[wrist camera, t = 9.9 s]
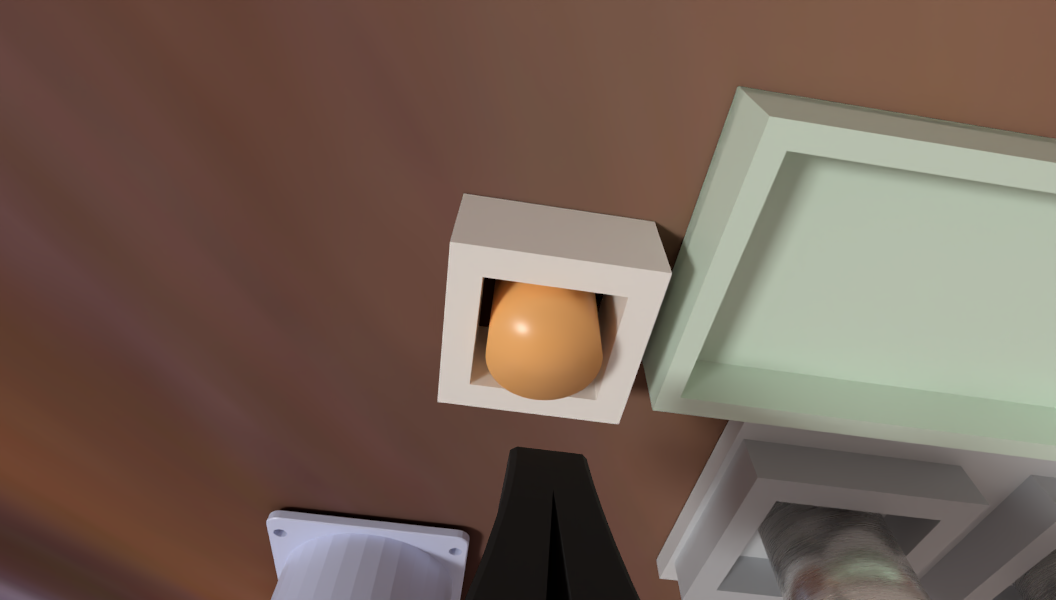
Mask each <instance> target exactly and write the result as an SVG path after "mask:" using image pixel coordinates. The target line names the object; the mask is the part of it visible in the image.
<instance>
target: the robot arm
mask: <svg viewBox="0 0 1056 600" xmlns="http://www.w3.org/2000/svg"><path fill="white" fill-rule="evenodd" d="M266 524H267V529H268V534H269V538H270V543H271V548H272V553H273V557H274V562H275V567H276V572H277V577H278V583H277V585H276V588H275V590H274V593H273V596H272V598H271V600H460V597H461V591H462V585H463V578H464V572H465V566H466V559H467V553H468V546H469V539H470V538H469V535H468V534H467V533H466V532H464V531H462V530H457V529H448V528H439V527H430V526H421V525H412V524H403V523H394V522H384V521H375V520H366V519H357V518H348V517H339V516H330V515H321V514H312V513H302V512H293V511H284V510H276V511H273V512H271V513H270V515H269V517H268V519H267V522H266ZM465 600H640V599H639V596H638V594H637V592H636V590H635V588H634V585H633V583H632V581H631V579H630V576H629V574H628V572H627V569H626V567H625V565H624V562H623V560H622V558H621V555H620V553H619V551H618V548H617V546H616V543H615V541H614V538H613V536H612V533H611V531H610V528H609V526H608V523H607V520H606V517H605V515H604V512H603V509H602V507H601V504H600V501H599V498H598V495H597V492H596V489H595V486H594V483H593V480H592V477H591V473H590V470H589V466H588V463H587V459H586V458H585V457H584V456H583V455H582V454H575V453H566V452H558V451H549V450H541V449H532V448H524V447H515V448H513V449H511V450H510V453H509V458H508V463H507V468H506V473H505V478H504V483H503V488H502V494H501V499H500V504H499V509H498V514H497V517H496V520H495V523H494V526H493V528H492V531H491V534H490V537H489V540H488V543H487V546H486V549H485V551H484V554H483V557H482V559H481V562H480V565H479V567H478V569H477V572H476V574H475V577H474V579H473V581H472V584H471V586H470V588H469V591H468V593H467V596H466V598H465Z"/></svg>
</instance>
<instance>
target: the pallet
mask: <svg viewBox="0 0 1056 600" xmlns="http://www.w3.org/2000/svg"><path fill="white" fill-rule="evenodd" d="M776 501H779V502H787V503H796V504H804V505H813V506H821V507H830V508H838V509H847V510H855V511H864V512H873V513H881V515H882V516H883V518H884V520H885V522H886V523H887V525H888V527H889V528H890V530H891V532H892V534H893V535H894V537H895V539H896V541H897V542H898V544H899V546H900V547H901V549H902V551H903V553H904V554H905V556H906V558H907V560H908V561H909V563H910V565H911V566H912V568H913V570H914V572H915V573H916V575H917V577H918V579H919V580H920V582H921V584H922V585H923V587H924V589H925V591H926V592H927V594H928V596H929V598H930V599H931V600H1023V599H1022V597H1021V596H1020V594H1019V593H1018V592H1017V590H1016V589H1015V587H1014V586H1013V584H1012V583H1013V582H1015V581H1016V580H1017V579H1018V578H1020V577H1021V576H1022V575H1023V574H1025V573H1026V572H1027V571H1028V570H1030V569H1031V568H1032V567H1033V566H1035V565H1036V564H1037V563H1038V562H1040V561H1041V560H1042V559H1043V558H1045V557H1046V556H1047V555H1048V554H1050V553H1051V552H1052V551H1053V550H1055V549H1056V461H1050V460H1042V459H1034V458H1026V457H1019V456H1011V455H1003V454H995V453H987V452H979V451H971V450H963V449H955V448H947V447H939V446H932V445H924V444H916V443H908V442H900V441H892V440H884V439H876V438H868V437H860V436H852V435H844V434H837V433H829V432H821V431H813V430H805V429H797V428H789V427H781V426H773V425H765V424H757V423H750V422H742V421H734V420H729V421H728V423H727V425H726V427H725V429H724V431H723V433H722V435H721V437H720V439H719V440H718V442H717V444H716V446H715V448H714V450H713V452H712V454H711V456H710V458H709V460H708V462H707V464H706V466H705V467H704V469H703V471H702V473H701V475H700V477H699V479H698V481H697V483H696V485H695V487H694V489H693V491H692V492H691V494H690V496H689V498H688V500H687V502H686V504H685V506H684V508H683V510H682V512H681V514H680V516H679V518H678V519H677V521H676V523H675V525H674V527H673V529H672V531H671V533H670V535H669V537H668V539H667V541H666V543H665V544H664V546H663V548H662V550H661V552H660V554H659V556H658V558H657V566H658V572H659V578H660V579H670V580H678V584H679V589H680V594H681V599H682V600H783V597H782V594H781V592H780V589H779V586H778V584H777V581H776V578H775V575H774V573H773V570H772V567H771V565H770V562H769V559H768V557H767V554H766V551H765V548H764V546H763V543H762V540H761V538H760V535H759V532H758V530H757V529H758V528H759V526H760V525H761V523H762V522H763V520H764V519H765V517H766V516H767V514H768V513H769V511H770V510H771V508H772V507H773V505H774V504H775V502H776Z"/></svg>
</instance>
